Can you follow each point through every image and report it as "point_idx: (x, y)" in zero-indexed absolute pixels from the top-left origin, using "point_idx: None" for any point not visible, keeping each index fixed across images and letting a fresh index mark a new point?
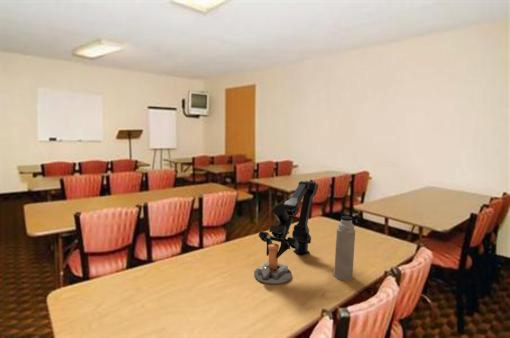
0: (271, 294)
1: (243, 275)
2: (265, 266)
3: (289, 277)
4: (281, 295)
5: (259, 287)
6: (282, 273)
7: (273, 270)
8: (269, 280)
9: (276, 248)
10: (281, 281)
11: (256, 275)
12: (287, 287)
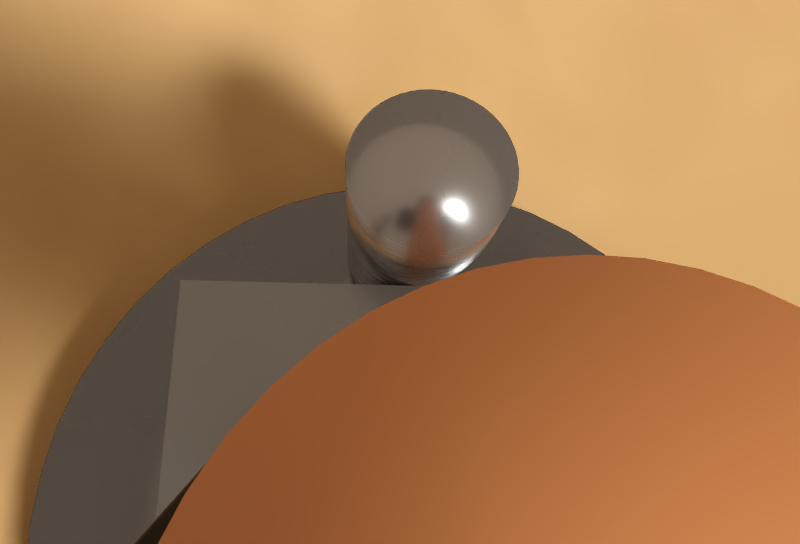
0: (164, 4)
1: (790, 254)
2: (463, 195)
3: (40, 536)
4: (29, 42)
5: (392, 76)
6: None
7: None
8: (327, 236)
9: (206, 482)
10: (130, 311)
11: None
12: (16, 276)
